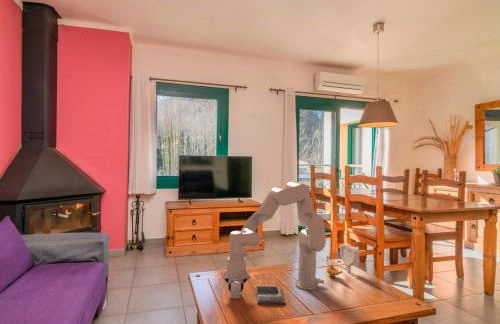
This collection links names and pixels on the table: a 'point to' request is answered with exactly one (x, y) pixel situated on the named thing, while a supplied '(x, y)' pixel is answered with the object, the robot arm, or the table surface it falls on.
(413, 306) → the table surface
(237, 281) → the block
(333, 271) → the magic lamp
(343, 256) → the heart sculpture
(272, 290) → the grey square tray
